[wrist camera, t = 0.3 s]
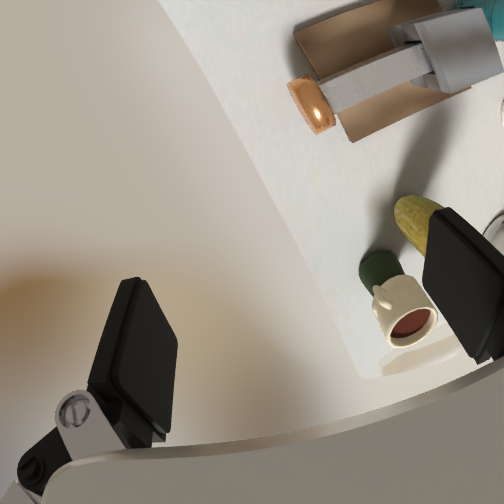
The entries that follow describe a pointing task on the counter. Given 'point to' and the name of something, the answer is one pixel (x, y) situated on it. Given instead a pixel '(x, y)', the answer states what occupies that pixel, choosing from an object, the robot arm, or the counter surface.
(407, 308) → the character mug
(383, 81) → the shaft
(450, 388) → the robot arm
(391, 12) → the board
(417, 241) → the vegetable
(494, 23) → the beverage bottle
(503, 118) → the white cup
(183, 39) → the counter surface
